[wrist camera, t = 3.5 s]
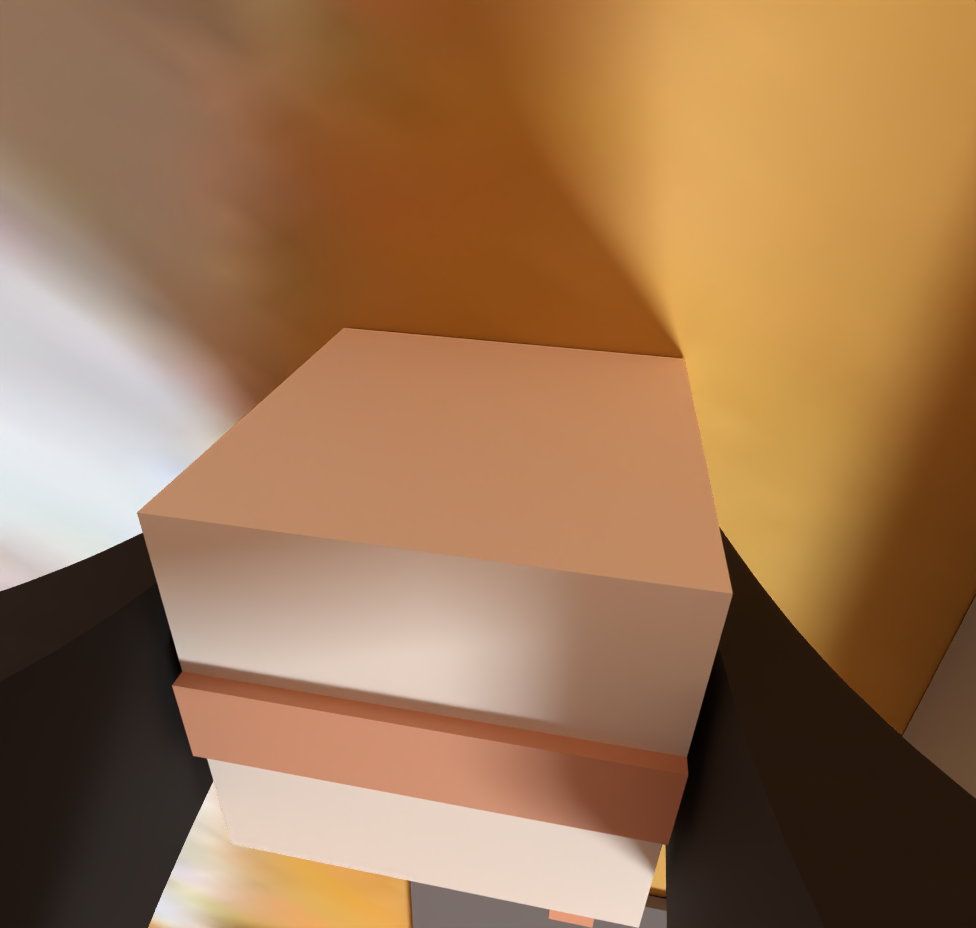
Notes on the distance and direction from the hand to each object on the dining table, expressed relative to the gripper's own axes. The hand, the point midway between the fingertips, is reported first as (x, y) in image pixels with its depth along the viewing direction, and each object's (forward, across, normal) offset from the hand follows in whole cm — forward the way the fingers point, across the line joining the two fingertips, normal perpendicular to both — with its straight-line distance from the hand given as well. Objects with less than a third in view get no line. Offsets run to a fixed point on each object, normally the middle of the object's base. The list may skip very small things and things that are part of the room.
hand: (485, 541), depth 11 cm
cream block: (+2, 0, 0) cm, 2 cm away
